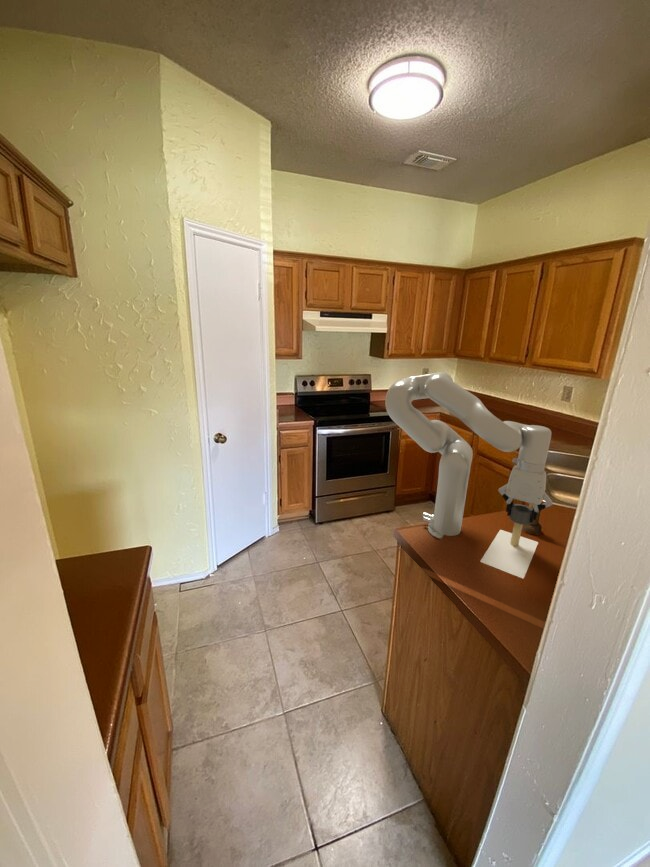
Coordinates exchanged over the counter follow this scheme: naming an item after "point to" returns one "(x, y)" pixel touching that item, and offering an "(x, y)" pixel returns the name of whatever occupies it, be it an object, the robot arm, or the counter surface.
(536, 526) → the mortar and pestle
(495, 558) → the post board
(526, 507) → the ring
